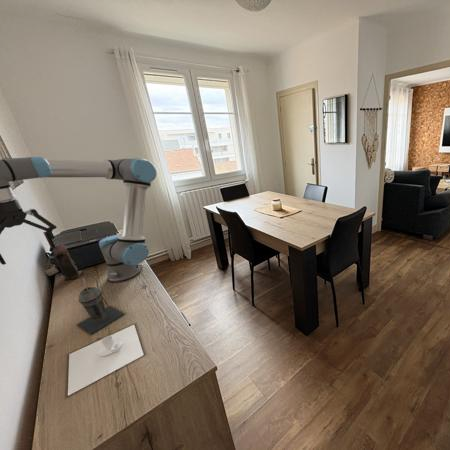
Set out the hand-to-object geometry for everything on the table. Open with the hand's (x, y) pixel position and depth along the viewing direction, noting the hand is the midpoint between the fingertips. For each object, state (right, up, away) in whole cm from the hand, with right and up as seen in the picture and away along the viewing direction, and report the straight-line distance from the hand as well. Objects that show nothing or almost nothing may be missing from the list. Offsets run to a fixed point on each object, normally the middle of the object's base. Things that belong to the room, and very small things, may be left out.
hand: (29, 255), depth 91 cm
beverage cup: (+18, -29, +11) cm, 36 cm away
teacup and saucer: (+34, -35, -6) cm, 49 cm away
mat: (+18, -29, +11) cm, 36 cm away
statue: (-25, -18, +44) cm, 54 cm away
